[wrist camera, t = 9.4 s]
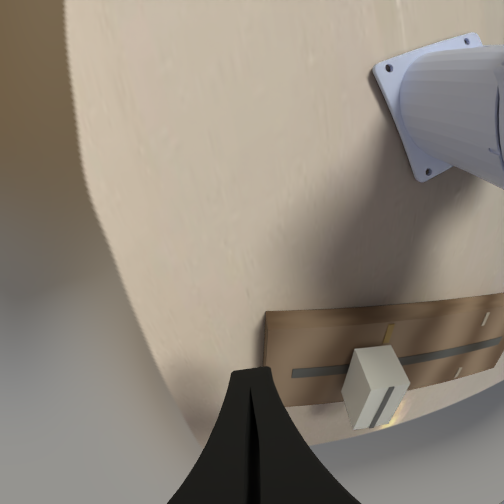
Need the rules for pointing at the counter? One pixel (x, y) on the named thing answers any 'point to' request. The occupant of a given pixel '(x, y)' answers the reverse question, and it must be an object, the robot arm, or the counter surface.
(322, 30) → the counter surface
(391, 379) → the fader knob
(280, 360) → the fader board
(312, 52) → the counter surface
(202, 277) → the counter surface
